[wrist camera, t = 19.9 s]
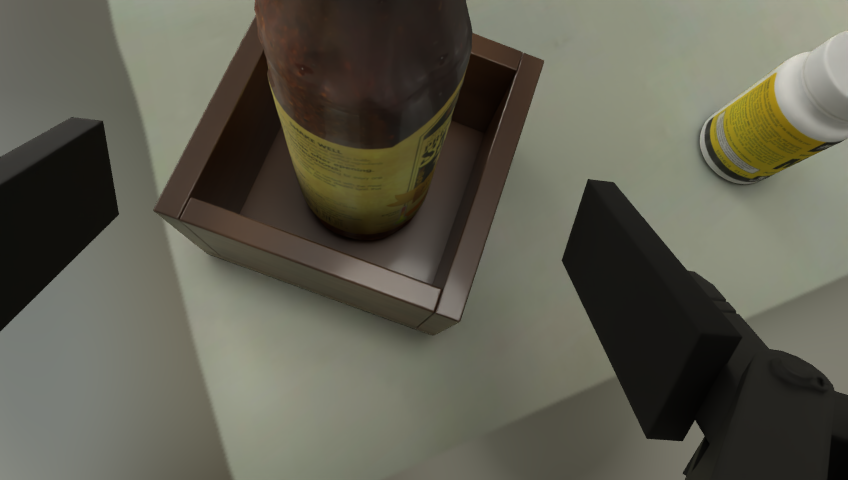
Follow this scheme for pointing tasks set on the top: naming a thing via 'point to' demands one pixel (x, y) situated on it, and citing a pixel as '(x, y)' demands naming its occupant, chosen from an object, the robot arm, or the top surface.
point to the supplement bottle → (782, 116)
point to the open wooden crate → (302, 230)
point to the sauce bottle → (365, 101)
